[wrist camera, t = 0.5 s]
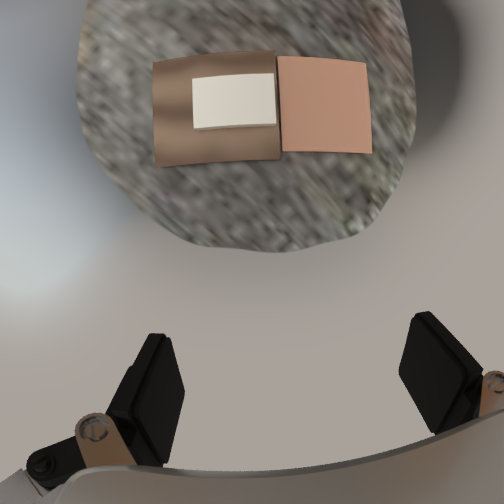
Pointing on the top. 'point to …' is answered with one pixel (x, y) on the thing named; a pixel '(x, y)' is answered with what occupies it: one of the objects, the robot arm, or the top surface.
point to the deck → (181, 112)
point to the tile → (234, 101)
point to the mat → (324, 105)
